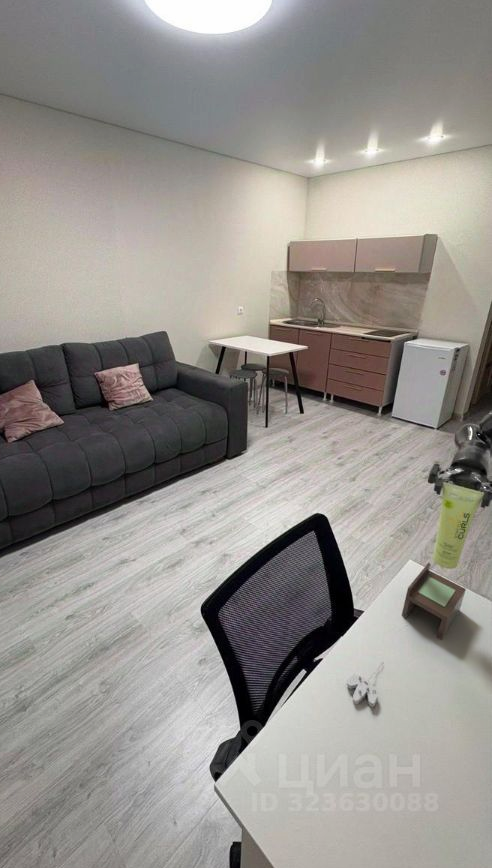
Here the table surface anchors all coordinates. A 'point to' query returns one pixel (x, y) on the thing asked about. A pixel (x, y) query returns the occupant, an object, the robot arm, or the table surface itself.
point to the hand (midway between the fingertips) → (460, 497)
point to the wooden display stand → (435, 597)
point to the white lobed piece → (362, 689)
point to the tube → (454, 523)
